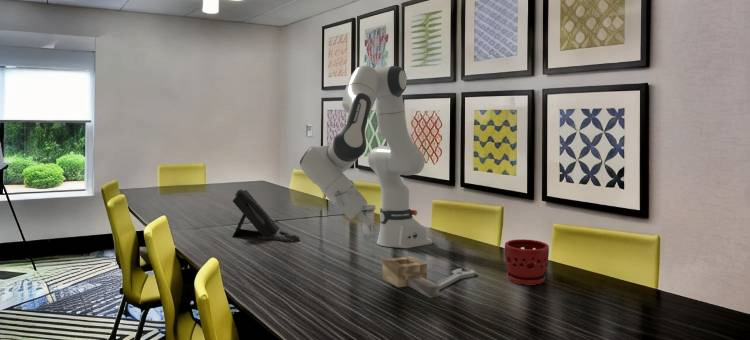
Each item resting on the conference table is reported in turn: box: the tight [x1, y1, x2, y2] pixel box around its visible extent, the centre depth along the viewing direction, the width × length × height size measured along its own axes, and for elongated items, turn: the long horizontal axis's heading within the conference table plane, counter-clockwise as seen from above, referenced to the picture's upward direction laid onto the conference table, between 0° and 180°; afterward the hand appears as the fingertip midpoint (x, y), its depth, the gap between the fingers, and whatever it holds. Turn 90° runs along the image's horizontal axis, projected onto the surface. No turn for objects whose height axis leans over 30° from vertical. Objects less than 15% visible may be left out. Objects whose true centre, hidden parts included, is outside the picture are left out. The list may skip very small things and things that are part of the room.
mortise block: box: [381, 256, 440, 299], centre depth 160 cm, size 10×22×6 cm, turn 27°
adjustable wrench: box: [434, 268, 476, 291], centre depth 166 cm, size 25×6×2 cm, turn 140°
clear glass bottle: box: [361, 204, 376, 240], centre depth 169 cm, size 4×4×10 cm
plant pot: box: [504, 239, 550, 286], centre depth 166 cm, size 13×13×12 cm
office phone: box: [232, 189, 300, 243], centre depth 229 cm, size 29×28×20 cm
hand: (370, 221), depth 169 cm, fingers closed on clear glass bottle, 4 cm apart
